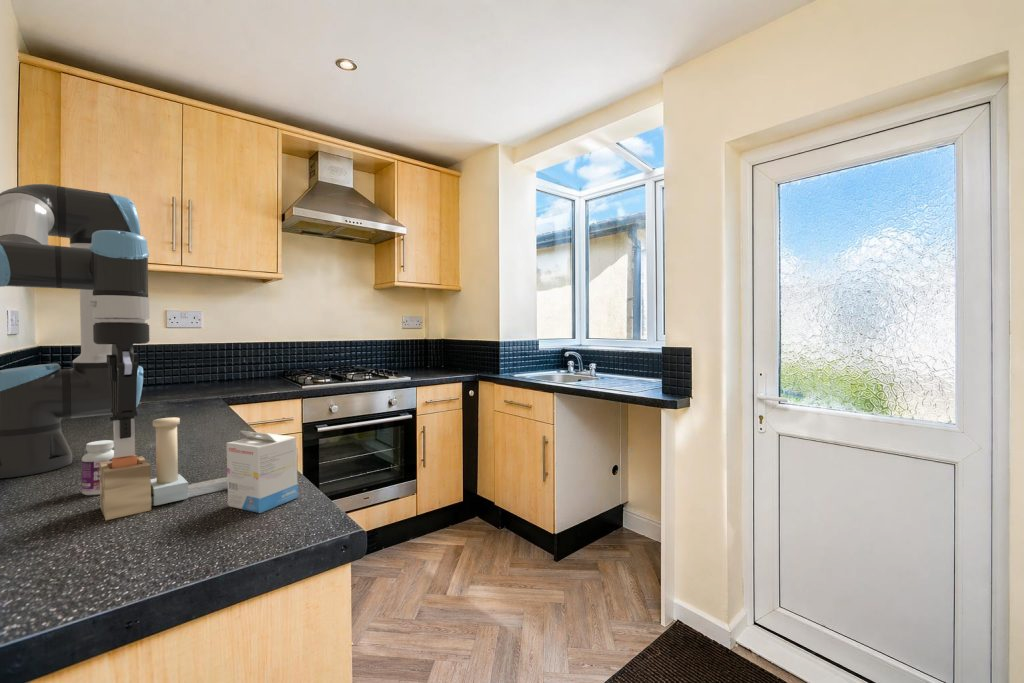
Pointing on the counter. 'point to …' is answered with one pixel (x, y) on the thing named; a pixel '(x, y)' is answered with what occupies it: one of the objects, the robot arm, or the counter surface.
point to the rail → (204, 487)
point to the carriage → (167, 464)
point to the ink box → (261, 471)
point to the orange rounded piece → (124, 461)
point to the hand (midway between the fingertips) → (124, 455)
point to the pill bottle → (95, 465)
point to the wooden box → (125, 489)
